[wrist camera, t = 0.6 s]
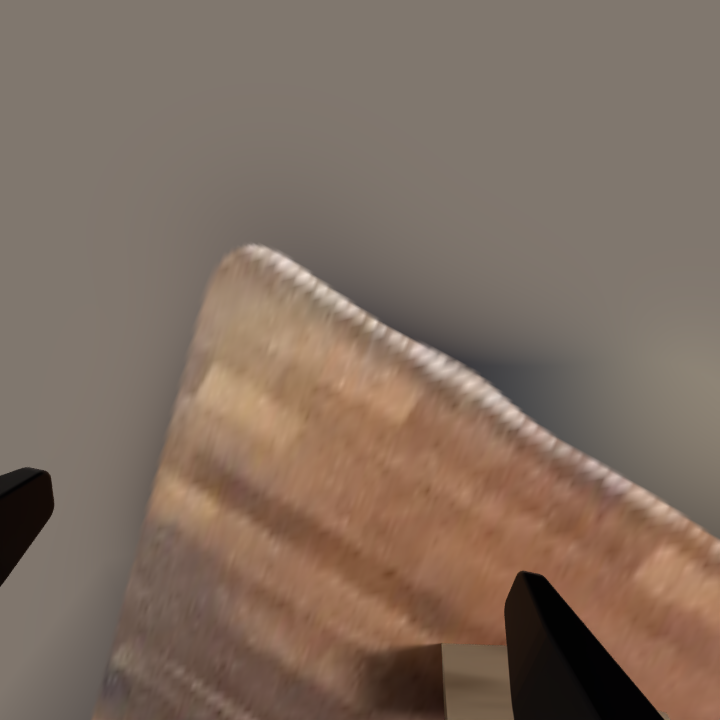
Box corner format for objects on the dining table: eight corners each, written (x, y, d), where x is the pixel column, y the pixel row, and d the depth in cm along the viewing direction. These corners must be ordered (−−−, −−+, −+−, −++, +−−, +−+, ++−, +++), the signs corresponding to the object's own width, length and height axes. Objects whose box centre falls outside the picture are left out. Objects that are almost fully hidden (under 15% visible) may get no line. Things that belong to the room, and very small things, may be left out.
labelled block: (522, 710, 26) (545, 805, 21) (443, 706, 27) (450, 798, 22) (522, 645, 25) (547, 729, 21) (441, 642, 26) (448, 724, 21)
